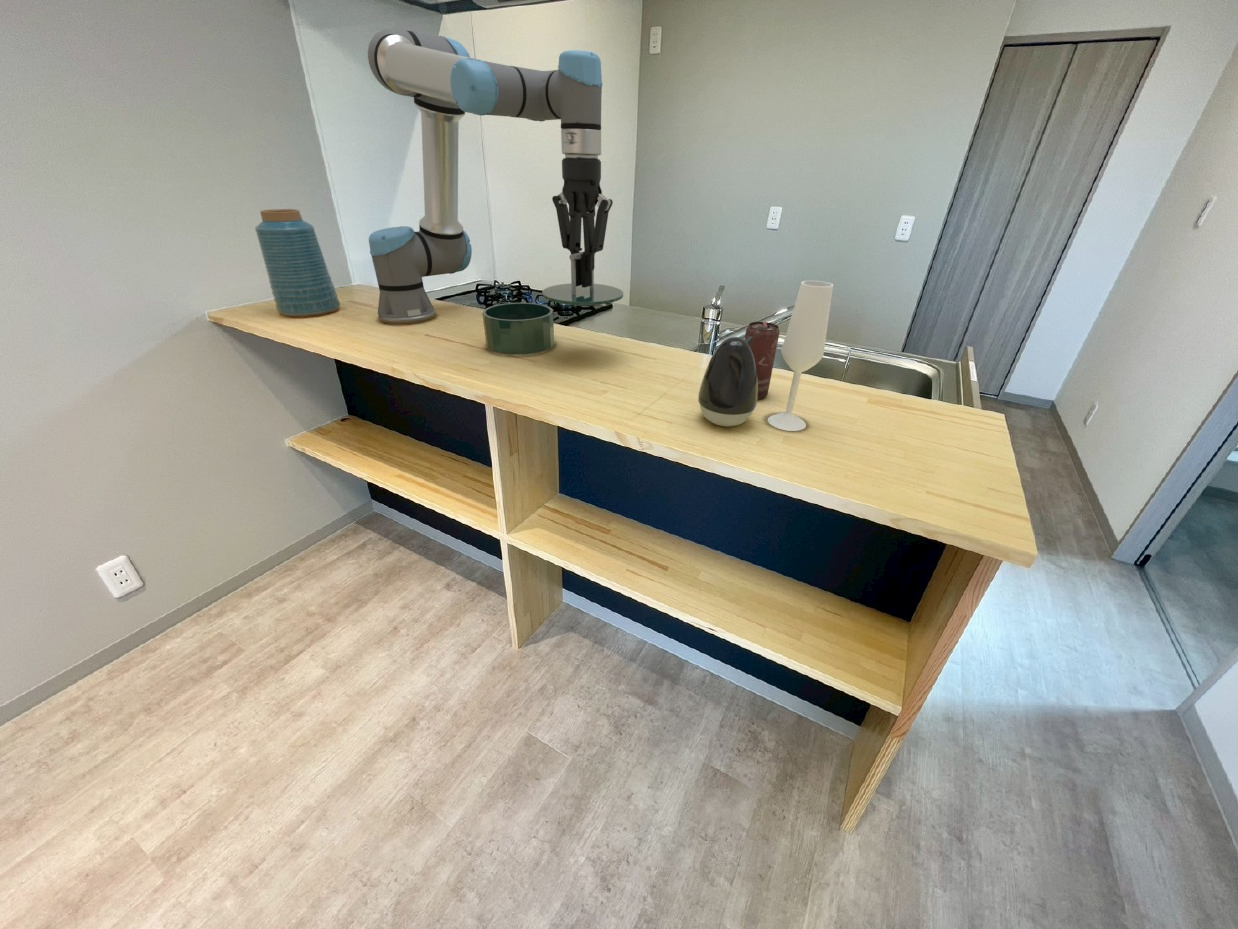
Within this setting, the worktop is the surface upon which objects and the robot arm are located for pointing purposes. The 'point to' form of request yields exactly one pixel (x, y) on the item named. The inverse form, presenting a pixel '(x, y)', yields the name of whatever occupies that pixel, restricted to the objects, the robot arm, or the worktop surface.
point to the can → (763, 352)
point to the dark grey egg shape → (730, 383)
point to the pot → (519, 328)
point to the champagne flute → (804, 343)
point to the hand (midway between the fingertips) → (582, 285)
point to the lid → (581, 291)
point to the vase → (295, 265)
